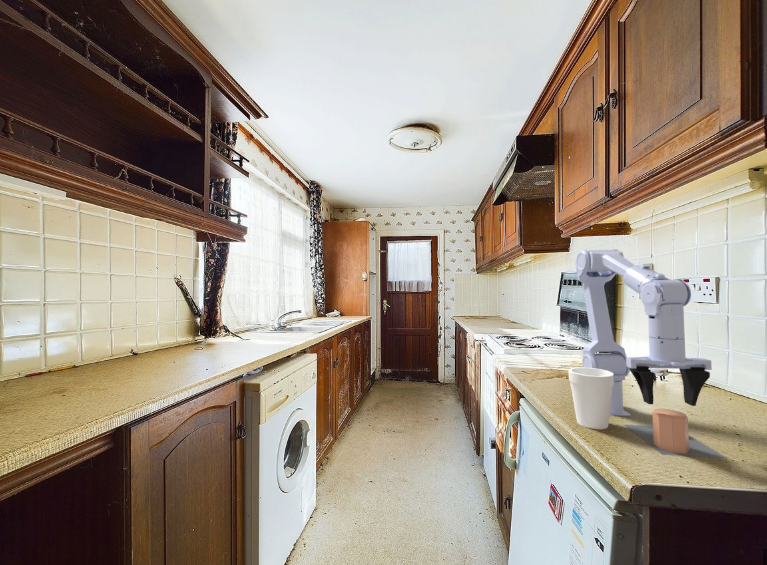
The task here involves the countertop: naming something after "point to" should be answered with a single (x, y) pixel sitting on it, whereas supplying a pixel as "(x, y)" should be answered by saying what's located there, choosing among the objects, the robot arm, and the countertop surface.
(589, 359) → the robot arm
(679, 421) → the salmon pink faceted cylinder
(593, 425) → the foam cup
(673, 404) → the countertop surface
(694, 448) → the mat
